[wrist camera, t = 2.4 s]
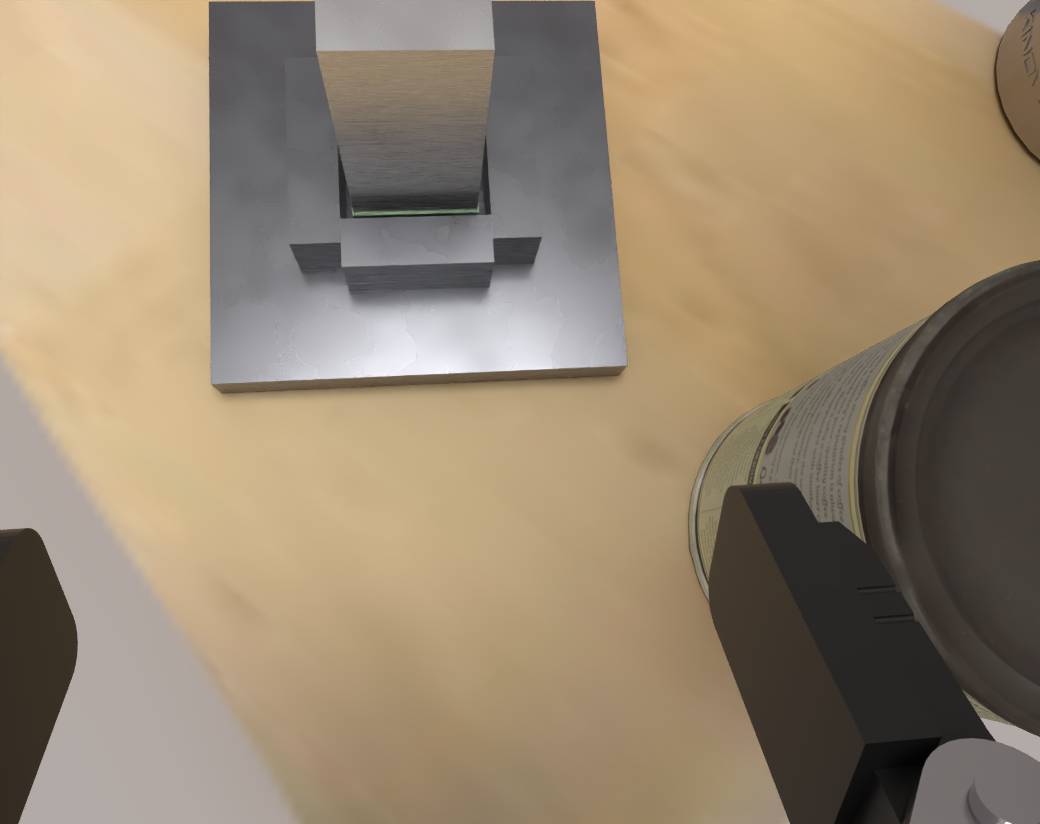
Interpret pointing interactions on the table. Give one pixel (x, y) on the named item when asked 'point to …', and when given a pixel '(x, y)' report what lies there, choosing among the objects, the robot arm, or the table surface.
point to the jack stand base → (409, 221)
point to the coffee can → (924, 478)
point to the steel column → (408, 101)
